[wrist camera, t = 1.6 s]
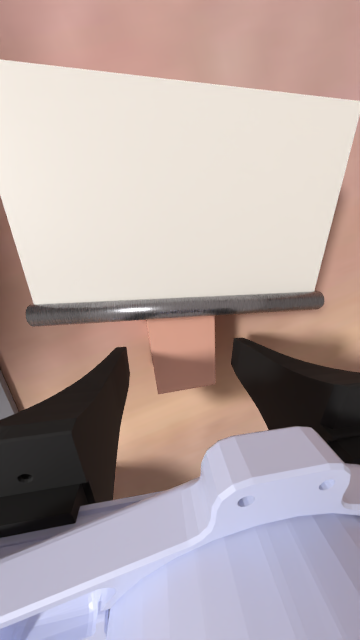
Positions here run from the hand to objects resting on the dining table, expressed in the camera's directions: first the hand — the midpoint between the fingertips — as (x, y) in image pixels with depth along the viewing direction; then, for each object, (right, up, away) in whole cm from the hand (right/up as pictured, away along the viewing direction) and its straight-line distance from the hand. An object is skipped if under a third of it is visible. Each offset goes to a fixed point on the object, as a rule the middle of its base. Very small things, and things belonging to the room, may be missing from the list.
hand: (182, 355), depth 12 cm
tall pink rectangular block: (0, +2, +2) cm, 3 cm away
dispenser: (0, +8, -1) cm, 8 cm away
